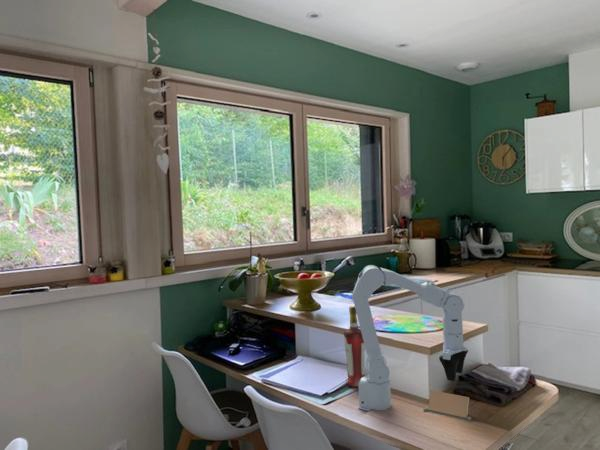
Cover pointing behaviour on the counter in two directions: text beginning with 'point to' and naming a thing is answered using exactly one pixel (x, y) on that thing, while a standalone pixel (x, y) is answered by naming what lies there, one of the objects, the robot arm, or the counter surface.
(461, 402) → the tile
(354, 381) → the liquor
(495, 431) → the counter surface
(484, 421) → the counter surface
